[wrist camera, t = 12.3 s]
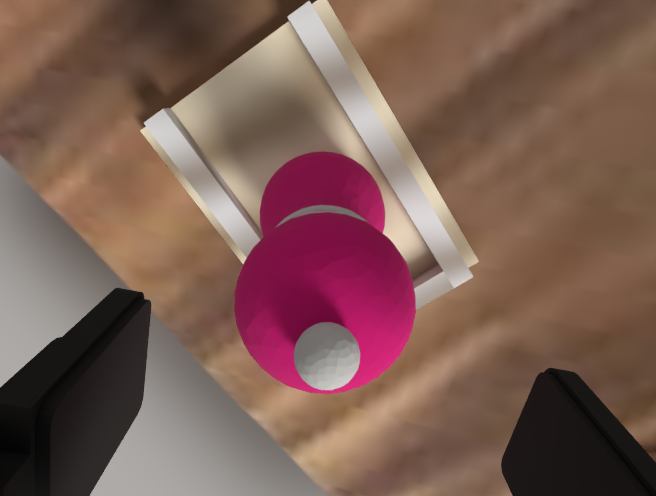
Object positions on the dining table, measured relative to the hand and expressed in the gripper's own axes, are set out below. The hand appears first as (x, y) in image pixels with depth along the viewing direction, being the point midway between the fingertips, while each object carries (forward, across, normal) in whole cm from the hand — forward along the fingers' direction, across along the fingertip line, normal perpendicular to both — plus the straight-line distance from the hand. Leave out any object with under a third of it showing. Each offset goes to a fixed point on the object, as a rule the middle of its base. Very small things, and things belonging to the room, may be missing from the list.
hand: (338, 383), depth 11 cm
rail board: (+22, +1, 0) cm, 22 cm away
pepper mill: (+21, +1, 0) cm, 21 cm away
